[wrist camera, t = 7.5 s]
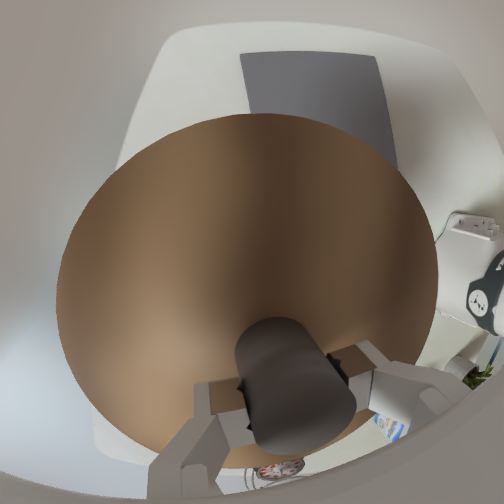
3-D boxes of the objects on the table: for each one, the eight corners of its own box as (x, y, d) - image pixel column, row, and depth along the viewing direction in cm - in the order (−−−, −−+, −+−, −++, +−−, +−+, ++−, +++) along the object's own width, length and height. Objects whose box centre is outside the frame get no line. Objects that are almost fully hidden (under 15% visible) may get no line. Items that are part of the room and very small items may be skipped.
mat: (372, 57, 28) (374, 56, 28) (396, 184, 33) (399, 184, 33) (239, 55, 26) (240, 54, 26) (267, 205, 31) (268, 205, 31)
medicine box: (380, 394, 43) (404, 423, 35) (399, 387, 44) (423, 414, 35) (373, 420, 45) (392, 448, 37) (391, 413, 46) (411, 439, 37)
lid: (413, 117, 10) (500, 103, 5) (404, 400, 15) (446, 447, 10) (26, 178, 8) (-64, 184, 3) (149, 466, 13) (146, 533, 8)
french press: (307, 417, 41) (364, 536, 17) (261, 452, 42) (294, 565, 18) (266, 398, 38) (317, 544, 14) (218, 436, 39) (239, 568, 15)
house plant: (415, 399, 46) (456, 446, 31) (440, 346, 43) (494, 389, 27) (453, 385, 49) (492, 422, 33) (475, 336, 46) (523, 370, 30)
